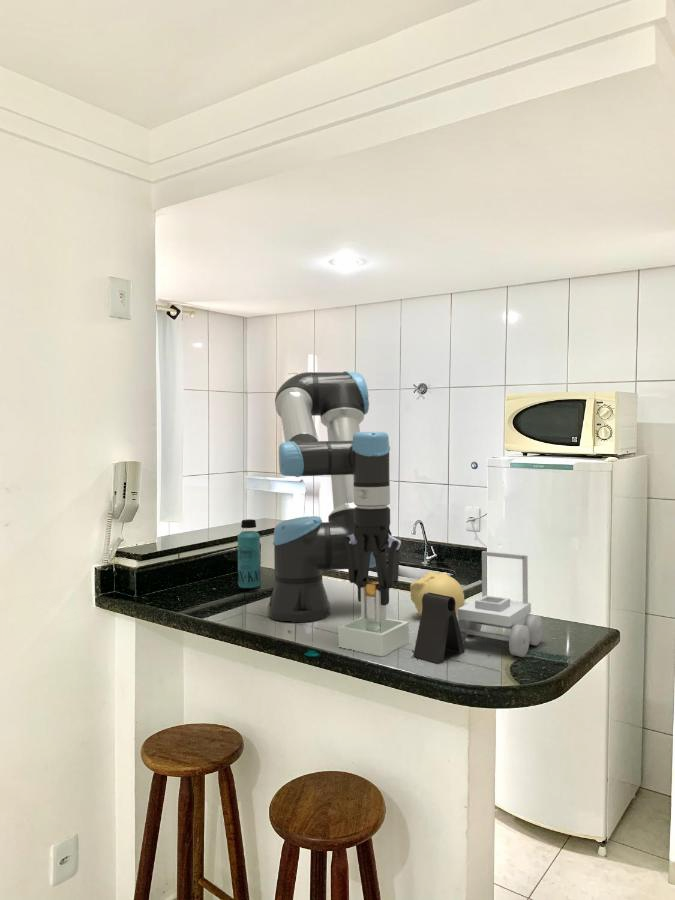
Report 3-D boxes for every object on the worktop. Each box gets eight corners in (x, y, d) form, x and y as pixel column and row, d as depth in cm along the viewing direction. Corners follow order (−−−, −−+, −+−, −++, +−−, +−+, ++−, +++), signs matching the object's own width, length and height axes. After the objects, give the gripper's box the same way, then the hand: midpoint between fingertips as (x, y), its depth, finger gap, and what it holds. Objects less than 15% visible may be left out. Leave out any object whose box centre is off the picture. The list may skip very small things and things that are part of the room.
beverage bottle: (238, 588, 197) (236, 518, 197) (261, 587, 198) (260, 517, 197) (237, 594, 191) (235, 521, 190) (261, 592, 192) (260, 520, 191)
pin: (363, 636, 144) (362, 583, 144) (371, 632, 147) (370, 580, 146) (376, 638, 142) (375, 585, 142) (383, 634, 145) (382, 582, 144)
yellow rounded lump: (433, 608, 173) (433, 565, 172) (473, 617, 164) (473, 572, 164) (403, 617, 165) (402, 572, 164) (443, 627, 156) (442, 580, 156)
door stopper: (438, 664, 132) (437, 602, 132) (413, 657, 137) (412, 596, 136) (465, 652, 139) (464, 593, 138) (440, 646, 143) (439, 588, 143)
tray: (338, 647, 143) (338, 627, 143) (366, 634, 152) (366, 614, 152) (382, 656, 137) (382, 635, 137) (408, 642, 146) (408, 622, 146)
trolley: (446, 647, 142) (445, 559, 142) (474, 630, 154) (473, 549, 153) (518, 660, 134) (518, 567, 133) (543, 641, 145) (542, 555, 144)
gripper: (329, 506, 145) (331, 617, 146) (396, 510, 136) (398, 629, 137) (349, 502, 151) (351, 609, 152) (415, 506, 142) (416, 620, 143)
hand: (373, 618), depth 144 cm, fingers closed on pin, 3 cm apart
